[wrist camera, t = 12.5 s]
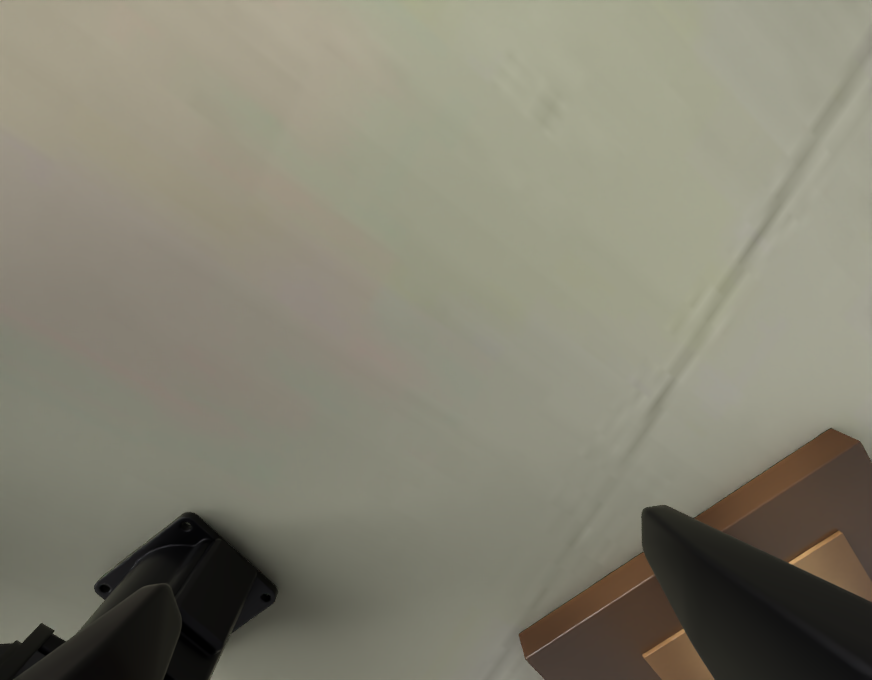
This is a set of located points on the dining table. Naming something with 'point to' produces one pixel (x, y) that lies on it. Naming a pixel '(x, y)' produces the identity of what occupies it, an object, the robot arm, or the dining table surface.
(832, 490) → the desk board
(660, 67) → the dining table surface
